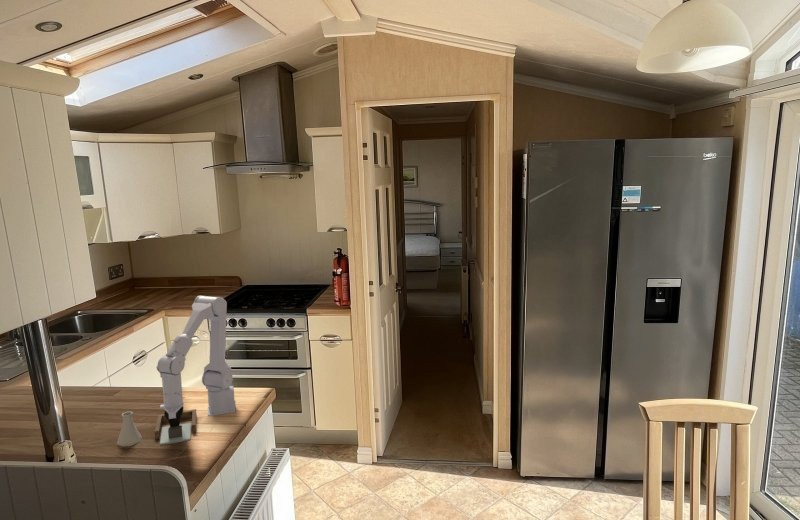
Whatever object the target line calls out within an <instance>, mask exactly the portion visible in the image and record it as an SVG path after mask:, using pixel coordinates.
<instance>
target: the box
mask: <svg viewBox="0 0 800 520" xmlns="http://www.w3.org/2000/svg"><path fill="white" fill-rule="evenodd" d="M197 416H198V415H197V408H195V409H189V410H183V413H182V415H181V418H180V425H181V424H187V423H191V434H196V433H197V418H198V417H197ZM168 426H170V424H169V422H168V420H167V418H166V417H165V415H164V413H162V414H158V415H157V419H156V423H155V428H154V438H155V439H154V440H161V433H162V427H168Z"/></svg>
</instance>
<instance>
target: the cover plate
mask: <svg viewBox="0 0 800 520" xmlns="http://www.w3.org/2000/svg"><path fill="white" fill-rule="evenodd" d="M191 436H192V433H191V423H187V424H181V425H179V426H174V427H170V426H168V427H162V433H161V439H159V440H160V441H159V446H165V445H171V444H176V443H180V442H188V441H191Z"/></svg>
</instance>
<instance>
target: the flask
mask: <svg viewBox="0 0 800 520" xmlns="http://www.w3.org/2000/svg"><path fill="white" fill-rule="evenodd" d="M133 414H134V412H133V411H125V412H122V414H121V417H122V425H121V429H120V432H119V436H118V438H117V442H116V444H115V445H117V446H119V447H123V448H124V447H132V446H134V445H136V444H138V443H140V442H141V441H142V439H143V437H142V435H141V433H140V431H139V429H138V428H137V426H136V424H135V421H134V419H133Z"/></svg>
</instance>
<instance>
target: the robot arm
mask: <svg viewBox="0 0 800 520" xmlns="http://www.w3.org/2000/svg"><path fill="white" fill-rule="evenodd" d="M227 305H228V302H227V301H226V299H224V297H223V296H207V295H203V294H202V295H197V296H196V297H195V298H194V301H193V303H192V304H191V309H192V312H191V314H190V316H189V318H188V321H187V323H186V324H185V327H184V329H183V331H182V333H181V334H179V335H177V336H176V337H175V338H174V339H173V342H172V343H171V345H170V347H169V349H168V351H167V353H166V354H165V355H163V356H162V357H160V358H159V359H158V362H157V366H156V371H158V373H159V377H160V378H161V382H162V386H161V387H162V396H163V397H162V399H163V404H160V405H159V409H161V410H162V409H163V410H164V413H163V414H164V415H165V417H166V418H167V420H168V422H169V424H170V427H174V426H179V425H180V418H181V415H182V413H183V411H184V405H185V404H184V403H185V402H184V401H183V387H182V385H183V384H182V372H183V370H184V369H185V365H186V363H185V362H186V359H187V358H186V356H187V354H188V353H189V351H190V349H191V347H192V345H193V337H194V335H195V333H196V332H197V331H198V329H199V328H200V326H201V325H202V323H203V321H205V320H209V321H210V333H209V334H210V335H209V336H210V338H209V340H210V341H209V363H207V364H206V365H205V366H204V367H203V373H202V376H201V383H202V385H203V386H204V387H205V389H206V390H207V401H208V402H207V403H208V406H207V416H208V417H211V416H216V415H222V414H223V415H224V414H229V413H230V414H231V413H235V412H236V400H235V389H234V388H235V387H234V385H232V383H233V379H234V378H233V373H232V367H231V366H230V365H229V363H227V361H226V341H227V340H226V339H227V310H228V309H227V308H228V306H227Z"/></svg>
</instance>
